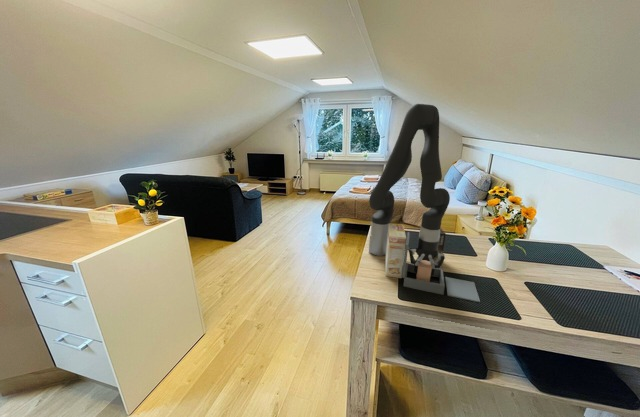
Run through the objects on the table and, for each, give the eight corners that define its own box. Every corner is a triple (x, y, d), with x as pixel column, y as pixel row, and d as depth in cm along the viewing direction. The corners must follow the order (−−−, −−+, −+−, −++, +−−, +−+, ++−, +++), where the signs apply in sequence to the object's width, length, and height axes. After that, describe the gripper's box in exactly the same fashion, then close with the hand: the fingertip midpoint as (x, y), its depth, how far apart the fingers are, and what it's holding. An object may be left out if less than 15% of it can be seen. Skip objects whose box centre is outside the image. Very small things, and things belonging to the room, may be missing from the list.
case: (400, 285, 103) (405, 244, 97) (403, 269, 115) (407, 232, 109) (443, 294, 97) (450, 251, 91) (441, 277, 109) (447, 237, 103)
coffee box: (436, 257, 125) (441, 228, 120) (441, 264, 119) (446, 233, 114) (418, 257, 126) (422, 227, 121) (421, 263, 120) (426, 233, 115)
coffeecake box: (402, 278, 108) (406, 237, 102) (385, 276, 110) (388, 236, 104) (400, 261, 122) (404, 224, 116) (385, 259, 123) (388, 223, 117)
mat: (447, 295, 97) (447, 294, 97) (444, 277, 108) (445, 276, 108) (479, 302, 93) (480, 301, 93) (473, 283, 104) (474, 282, 104)
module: (416, 282, 103) (418, 266, 101) (416, 274, 110) (418, 258, 107) (428, 285, 102) (431, 268, 99) (428, 276, 108) (431, 260, 105)
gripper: (409, 238, 99) (405, 275, 104) (449, 244, 94) (442, 282, 99) (410, 231, 105) (406, 266, 111) (448, 236, 100) (441, 272, 106)
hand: (423, 273), depth 105 cm, fingers closed on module, 5 cm apart
